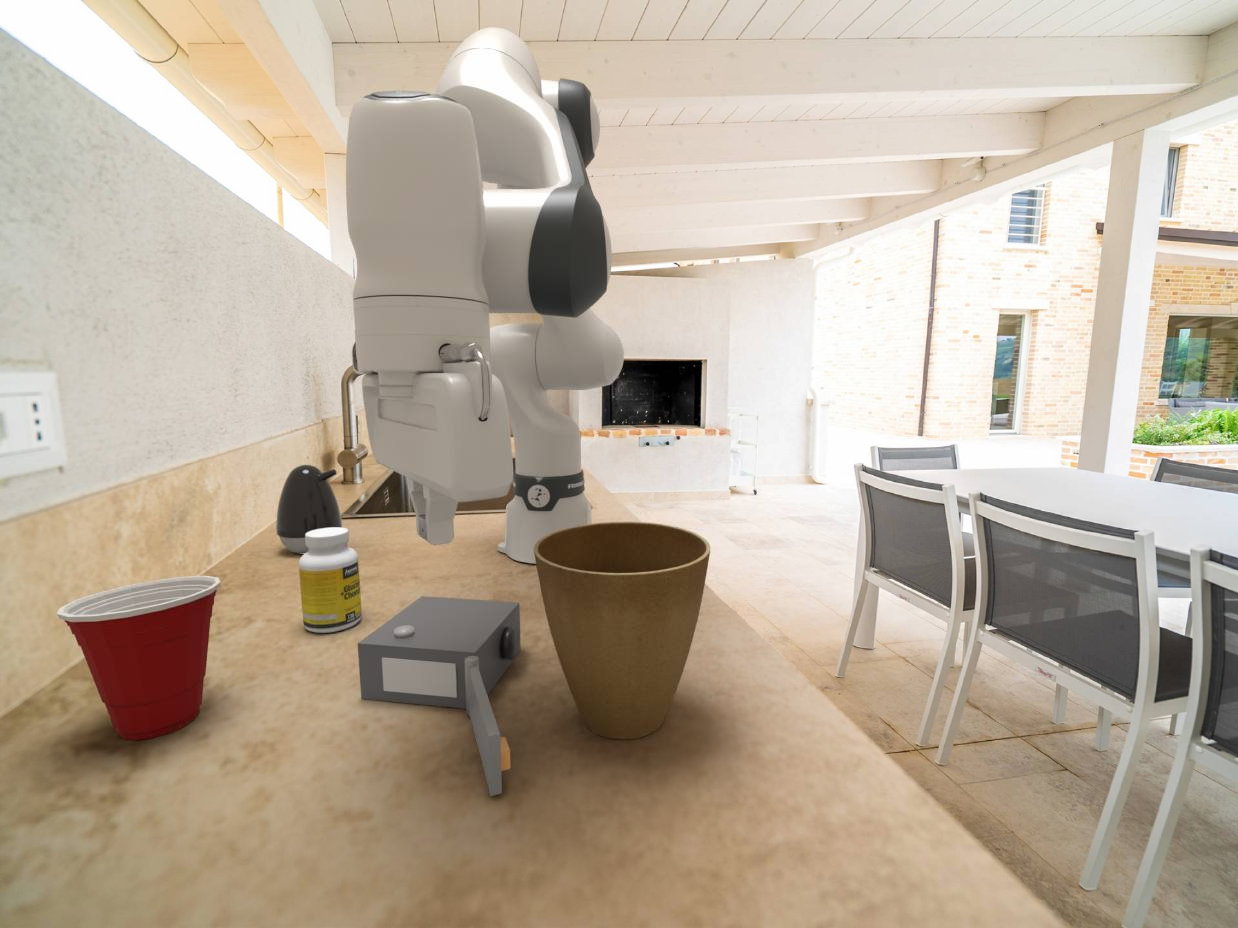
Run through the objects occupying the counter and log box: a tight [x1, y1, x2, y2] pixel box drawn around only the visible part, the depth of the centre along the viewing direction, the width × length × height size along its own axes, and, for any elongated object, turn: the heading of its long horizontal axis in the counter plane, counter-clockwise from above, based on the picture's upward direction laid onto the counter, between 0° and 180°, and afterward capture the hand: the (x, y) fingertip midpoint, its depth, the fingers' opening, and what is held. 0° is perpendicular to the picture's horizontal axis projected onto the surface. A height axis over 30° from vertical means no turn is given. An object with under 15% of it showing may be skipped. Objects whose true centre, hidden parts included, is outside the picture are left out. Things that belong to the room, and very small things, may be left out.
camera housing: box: [357, 595, 522, 710], centre depth 59 cm, size 12×12×6 cm
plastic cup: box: [56, 575, 221, 741], centre depth 50 cm, size 11×11×12 cm
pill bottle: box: [298, 527, 363, 634], centre depth 70 cm, size 6×6×12 cm
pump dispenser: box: [275, 464, 343, 554], centre depth 101 cm, size 10×10×15 cm
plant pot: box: [534, 521, 711, 740], centre depth 50 cm, size 15×15×16 cm
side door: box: [465, 656, 511, 797], centre depth 46 cm, size 2×12×5 cm, turn 22°
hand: (435, 540), depth 42 cm, fingers closed
